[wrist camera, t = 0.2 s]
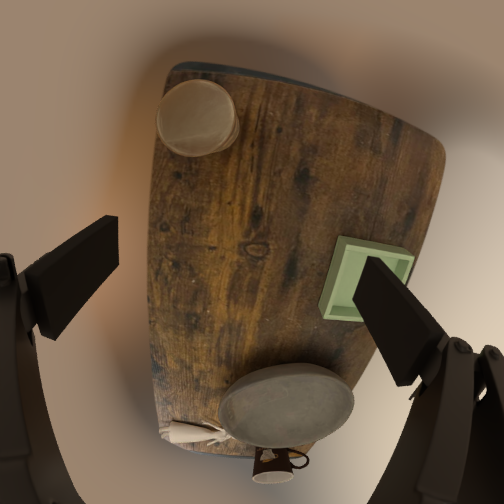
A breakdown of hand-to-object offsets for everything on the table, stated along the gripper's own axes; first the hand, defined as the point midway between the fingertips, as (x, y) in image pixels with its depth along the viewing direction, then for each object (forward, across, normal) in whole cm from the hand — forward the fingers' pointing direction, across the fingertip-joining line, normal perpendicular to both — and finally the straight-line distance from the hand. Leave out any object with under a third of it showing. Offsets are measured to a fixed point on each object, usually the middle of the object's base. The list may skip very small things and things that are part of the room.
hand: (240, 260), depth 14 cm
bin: (+19, +17, -9) cm, 27 cm away
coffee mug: (+19, +15, -53) cm, 58 cm away
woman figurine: (+19, -2, -49) cm, 52 cm away
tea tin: (+20, -5, +7) cm, 21 cm away
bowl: (+19, +11, -31) cm, 38 cm away
